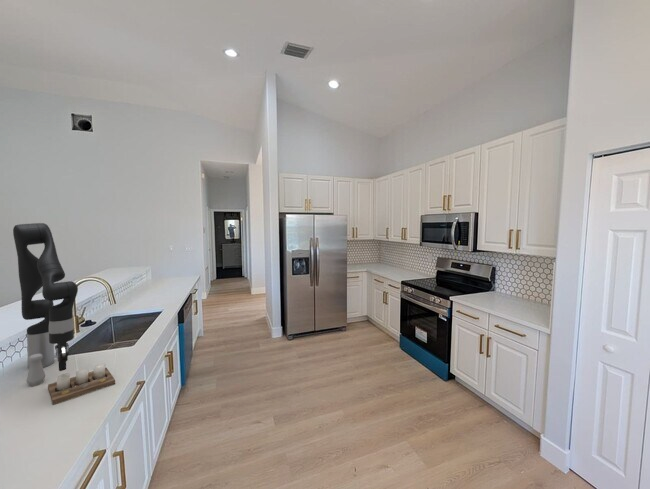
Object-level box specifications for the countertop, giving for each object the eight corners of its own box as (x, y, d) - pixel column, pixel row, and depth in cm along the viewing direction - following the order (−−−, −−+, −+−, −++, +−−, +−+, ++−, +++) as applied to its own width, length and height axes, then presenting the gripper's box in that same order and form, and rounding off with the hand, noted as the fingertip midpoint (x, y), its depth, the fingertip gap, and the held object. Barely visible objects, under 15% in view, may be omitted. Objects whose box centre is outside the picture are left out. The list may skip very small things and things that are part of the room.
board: (48, 388, 117) (48, 383, 117) (106, 371, 133) (106, 366, 133) (52, 405, 107) (52, 399, 107) (115, 383, 122) (115, 378, 122)
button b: (75, 381, 120) (75, 370, 119) (87, 378, 123) (87, 367, 122) (77, 385, 117) (76, 374, 117) (89, 381, 120) (88, 370, 120)
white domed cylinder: (56, 387, 115) (56, 376, 115) (69, 383, 118) (68, 372, 118) (57, 391, 112) (57, 379, 112) (70, 387, 115) (70, 376, 115)
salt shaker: (33, 388, 118) (32, 358, 117) (23, 386, 119) (22, 357, 118) (49, 380, 123) (48, 352, 123) (39, 379, 125) (38, 351, 124)
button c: (93, 376, 124) (92, 365, 124) (104, 373, 127) (103, 362, 127) (94, 379, 122) (94, 368, 121) (106, 376, 125) (106, 365, 124)
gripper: (47, 328, 115) (48, 367, 116) (50, 336, 107) (51, 379, 107) (71, 323, 121) (72, 361, 122) (76, 331, 112) (77, 372, 113)
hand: (62, 369), depth 114 cm, fingers closed
